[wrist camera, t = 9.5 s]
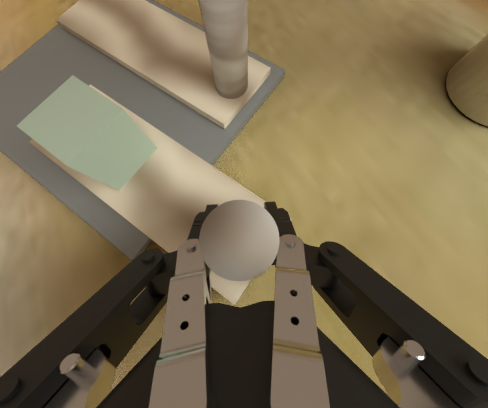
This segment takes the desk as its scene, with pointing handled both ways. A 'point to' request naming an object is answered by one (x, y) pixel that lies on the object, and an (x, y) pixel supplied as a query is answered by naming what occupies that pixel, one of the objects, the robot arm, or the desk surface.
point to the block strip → (192, 210)
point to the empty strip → (177, 50)
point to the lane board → (122, 91)
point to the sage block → (89, 133)
